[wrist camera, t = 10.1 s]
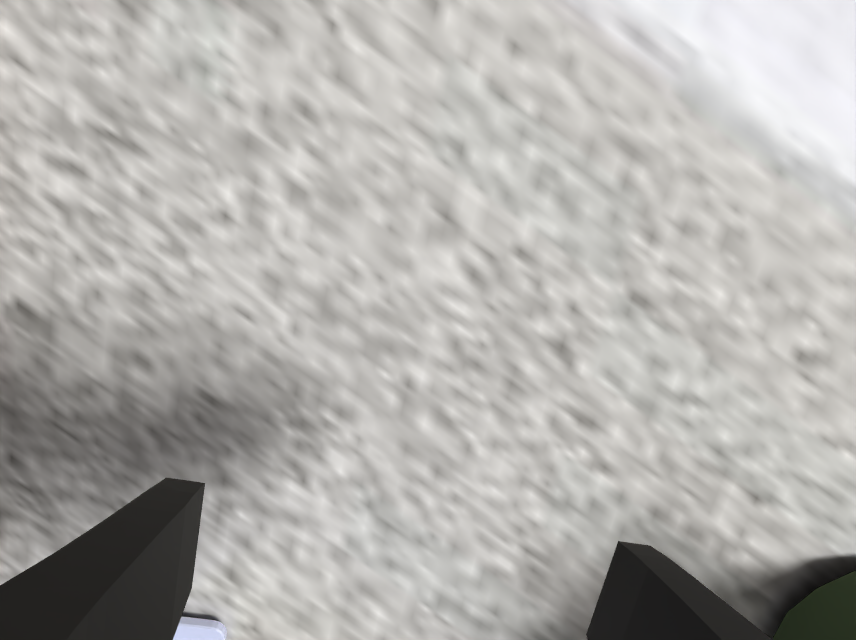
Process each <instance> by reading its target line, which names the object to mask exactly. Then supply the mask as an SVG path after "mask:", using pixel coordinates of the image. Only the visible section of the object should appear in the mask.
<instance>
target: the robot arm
mask: <svg viewBox="0 0 856 640" xmlns="http://www.w3.org/2000/svg"><path fill="white" fill-rule="evenodd" d="M204 487H205V483H200V482H193V481H186V480H179V479H172V478H165V479H164V480H162V481H161V482H159V483H158V484H156V485H155V486H153V487H152V488H150V489H149V490H147V491H146V492H144V493H143V494H141V495H140V496H138V497H137V498H136V499H134V500H133V501H131V502H130V503H128V504H127V505H126V506H124V507H123V508H121V509H120V510H118V511H117V512H115V513H114V514H112V515H111V516H110V517H108V518H107V519H105V520H104V521H102V522H101V523H99V524H98V525H96V526H95V527H93V528H92V529H90V530H89V531H87V532H86V533H84V534H83V535H81V536H80V537H78V538H77V539H75V540H74V541H72V542H70V543H69V544H67V545H66V546H64V547H63V548H61V549H60V550H58V551H57V552H55V553H54V554H52V555H50V556H49V557H47V558H45V559H44V560H42V561H40V562H39V563H37V564H35V565H34V566H32V567H30V568H29V569H27V570H25V571H24V572H22V573H20V574H19V575H17V576H15V577H14V578H12V579H10V580H9V581H7V582H5V583H4V584H2V585H0V640H226V636H227V629H226V627H225V626H224V624H222V623H221V622H219V621H215V620H208V619H199V618H190V617H181V616H182V614H183V611H184V608H185V605H186V602H187V600H188V597H189V594H190V591H191V588H192V581H193V573H194V566H195V558H196V550H197V542H198V534H199V526H200V518H201V510H202V502H203V495H204ZM586 635H587V639H588V640H772V639H771V638H770V637H769V636H767V635H766V634H765V633H763V632H762V631H761V630H760V629H758V628H757V627H756V626H754V625H753V624H752V623H751V622H749V621H748V620H747V619H746V618H744V617H743V616H742V615H740V614H739V613H738V612H737V611H735V610H734V609H733V608H732V607H730V606H729V605H728V604H727V603H725V602H724V601H723V600H722V599H720V598H719V597H718V596H717V595H715V594H714V593H713V592H712V591H710V590H709V589H708V588H707V587H705V586H704V585H703V584H702V583H700V582H699V581H698V580H696V579H695V578H694V577H693V576H691V575H690V574H689V573H687V572H686V571H685V570H684V569H682V568H681V567H680V566H678V565H677V564H676V563H674V562H673V561H672V560H670V559H669V558H668V557H666V556H665V555H663V554H662V553H660V552H659V551H657V550H656V549H654V548H653V547H651V546H648V545H641V544H634V543H627V542H620V541H618V544H617V547H616V550H615V553H614V556H613V558H612V561H611V564H610V567H609V570H608V573H607V576H606V579H605V582H604V585H603V588H602V591H601V593H600V596H599V599H598V602H597V605H596V608H595V611H594V614H593V617H592V620H591V623H590V626H589V628H588V631H587V634H586Z"/></svg>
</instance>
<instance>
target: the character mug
mask: <svg viewBox="0 0 856 640" xmlns="http://www.w3.org/2000/svg"><path fill="white" fill-rule="evenodd" d="M772 640H856V571H853V572H851V573H849V574H847V575H845V576H842V577H840V578H838V579H836V580H834V581H832V582H829V583H827V584H825V585H823V586H821V587H819V588H817V589H815V590H814V591H813V592H812V593H811V594H809V595H808V596H807V597H806V598H804V599H803V600H802V601H801V602H799V603H798V604H797V605H796V606H794V607H793V608H792V609H791V610H789V611H788V612H787V614H786V615H785V617H784V619H783V621H782V623H781V625H780V626H779V628H778V630H777V632H776V634H775V635H774V637H773V639H772Z"/></svg>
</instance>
